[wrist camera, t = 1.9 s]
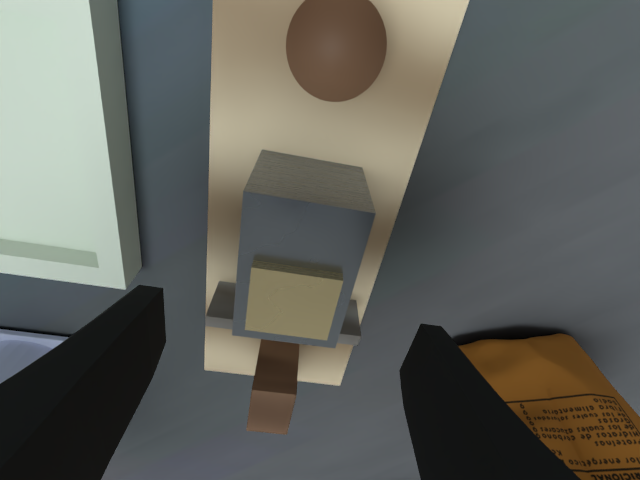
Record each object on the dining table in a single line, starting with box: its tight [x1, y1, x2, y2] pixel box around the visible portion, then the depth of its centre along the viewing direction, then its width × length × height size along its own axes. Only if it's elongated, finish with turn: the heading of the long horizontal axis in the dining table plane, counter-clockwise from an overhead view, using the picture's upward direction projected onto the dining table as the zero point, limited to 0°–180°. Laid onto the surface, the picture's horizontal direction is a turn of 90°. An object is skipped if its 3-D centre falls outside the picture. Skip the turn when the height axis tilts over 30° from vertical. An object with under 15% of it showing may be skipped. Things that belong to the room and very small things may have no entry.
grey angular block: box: [232, 149, 376, 348], centre depth 14 cm, size 6×4×4 cm, turn 170°
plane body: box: [204, 0, 469, 435], centre depth 15 cm, size 20×8×7 cm, turn 169°
